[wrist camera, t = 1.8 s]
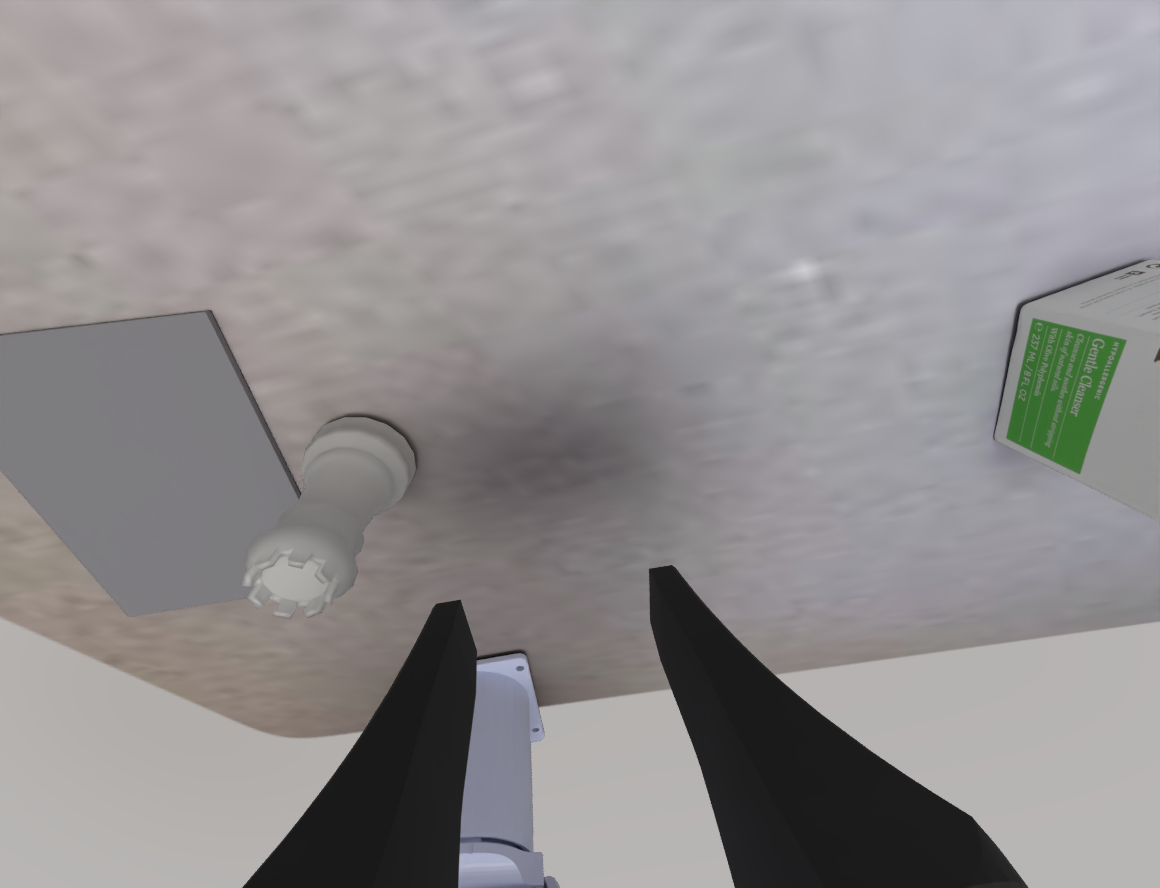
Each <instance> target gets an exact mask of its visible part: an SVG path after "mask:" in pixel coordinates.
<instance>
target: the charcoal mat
mask: <svg viewBox="0 0 1160 888" xmlns="http://www.w3.org/2000/svg"><path fill="white" fill-rule="evenodd" d="M0 470H1V472H2V473H3V474H4V475H5V476H6V477H7V478H8V480H9V481H10V482H11V483H12V484H13V485H14V486H15V488H16V489H17V490H18V491H19V492H20V493H21V494H22V496H23V497H24V498H25V499H26V500H27V501H28V503H29V504H30V505H31V506H32V507H33V508H34V509H35V511H36V512H37V513H38V514H39V515H40V516H41V517H42V519H43V520H44V521H45V522H46V523H47V524H48V525H49V527H50V528H51V529H52V530H53V531H54V532H55V534H56V535H57V536H58V537H59V538H60V539H61V540H62V542H63V543H64V544H65V545H66V546H67V547H68V548H69V550H70V551H71V552H72V553H73V554H74V555H75V556H76V558H77V559H78V560H79V561H80V562H81V563H82V565H83V566H84V567H85V568H86V569H87V570H88V571H89V573H90V574H91V575H92V576H93V577H94V578H95V579H96V581H97V582H98V583H99V584H100V585H101V586H102V587H103V589H104V590H105V591H106V592H107V593H108V594H109V596H110V597H111V598H112V599H113V600H114V601H115V602H116V604H117V605H118V606H119V607H120V608H121V609H122V610H123V612H124V613H125V614H126V615H127V616H128V617H132V616H139V615H145V614H151V613H158V612H164V611H170V610H177V609H183V608H189V607H196V606H202V605H208V604H214V603H221V602H227V601H233V600H240V599H246V597H247V596H248V594H249V593H250V592H251V590H252V589H253V587H254V585H253V587H248V586H241V585H242V580H243V575H244V573H245V572H246V570H247V567H246V564H245V562H244V560H245V555H246V550H247V546H248V545H249V544H250V543H251V542H252V541H253V540H254V539H255V538H256V537H257V536H258V535H259V534H261V533H264V532H267V531H269V530H272V529H275V528H276V526H277V521H278V518H279V517H280V516H281V515H282V514H283V513H284V512H285V511H286V510H287V509H289V508H292V507H294V506H296V505H297V503H298V501H299V499H300V497H301V494H300V492H299V490H298V488H297V486H296V484H295V482H294V479H293V477H292V475H291V473H290V471H289V469H288V467H287V465H286V463H285V461H284V459H283V457H282V455H281V453H280V451H279V449H278V447H277V445H276V443H275V441H274V439H273V437H272V435H271V433H270V431H269V429H268V427H267V425H266V422H265V420H264V418H263V416H262V414H261V412H260V410H259V408H258V406H257V404H256V402H255V400H254V398H253V396H252V394H251V392H250V390H249V388H248V386H247V384H246V382H245V380H244V378H243V376H242V374H241V372H240V370H239V368H238V365H237V363H236V361H235V359H234V357H233V355H232V353H231V351H230V349H229V347H228V345H227V343H226V341H225V339H224V337H223V335H222V333H221V331H220V329H219V327H218V325H217V323H216V321H215V319H214V317H213V315H212V313H211V311H210V310H209V311H200V312H191V313H183V314H174V315H165V316H157V317H148V318H139V319H131V320H122V321H113V322H105V323H96V324H88V325H79V326H70V327H62V328H53V329H44V330H36V331H27V332H18V333H10V334H1V335H0Z"/></svg>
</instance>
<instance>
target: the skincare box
mask: <svg viewBox="0 0 1160 888" xmlns="http://www.w3.org/2000/svg"><path fill="white" fill-rule="evenodd" d="M994 438H995V440H996V441H998V442H999V443H1001V444H1003V445H1006V446H1007V447H1009V448H1011V449H1013V450H1015V451H1018V452H1020V453H1022V454H1024V455H1026V456H1028V457H1030V458H1032V459H1034V460H1036V461H1038V462H1040V463H1042V464H1044V465H1046V466H1048V467H1050V468H1052V469H1054V470H1056V471H1058V472H1060V473H1062V474H1064V475H1066V476H1068V477H1070V478H1072V479H1074V480H1076V481H1078V482H1080V483H1082V484H1084V485H1086V486H1088V487H1090V488H1092V489H1094V490H1096V491H1098V492H1100V493H1102V494H1104V495H1106V496H1108V497H1110V498H1112V499H1114V500H1116V501H1118V502H1120V503H1122V504H1124V505H1126V506H1128V507H1130V508H1133V509H1135V510H1137V511H1139V512H1141V513H1143V514H1145V515H1147V516H1149V517H1151V518H1153V519H1155V520H1157V521H1159V522H1160V260H1156V259H1150V260H1147V261H1144V262H1141V263H1138V264H1136V265H1133V266H1130V267H1127V268H1124V269H1122V270H1119V271H1116V272H1113V273H1110V274H1107V275H1105V276H1102V277H1099V278H1096V279H1093V280H1090V281H1088V282H1085V283H1082V284H1079V285H1077V286H1074V287H1071V288H1068V289H1066V290H1063V291H1060V292H1057V293H1055V294H1052V295H1049V296H1046V297H1043V298H1041V299H1038V300H1035V301H1033V302H1030V303H1027V304H1025V305H1024V306H1023V307H1022V309H1021V312H1020V316H1019V321H1018V328H1017V334H1016V338H1015V342H1014V346H1013V350H1012V354H1011V359H1010V364H1009V370H1008V375H1007V379H1006V384H1005V389H1004V394H1003V399H1002V404H1001V408H1000V413H999V418H998V422H997V426H996V430H995V435H994Z"/></svg>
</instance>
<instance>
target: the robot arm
mask: <svg viewBox="0 0 1160 888" xmlns="http://www.w3.org/2000/svg"><path fill="white" fill-rule="evenodd" d="M649 584H650V622H651V626H652V630H653V634H654V638H655V641H656V645H657V649H658V652H659V656H660V660H661V662H662V665H663V668H664V671H665V673H666V676H667V678H668V681H669V684H670V686H671V689H672V691H673V694H674V697H675V699H676V702H677V705H678V707H679V710H680V713H681V715H682V718H683V720H684V723H685V726H686V728H687V731H688V734H689V736H690V739H691V741H692V744H693V747H694V749H695V752H696V755H697V758H698V761H699V764H700V766H701V770H702V773H703V777H704V780H705V784H706V787H707V790H708V794H709V797H710V801H711V804H712V808H713V811H714V814H715V818H716V822H717V825H718V828H719V832H720V836H721V839H722V843H723V846H724V850H725V853H726V857H727V860H728V864H729V868H730V871H731V875H732V879H733V883H734V886H735V888H1028V886H1027V885H1026V884H1025V882H1024V881H1023V880H1022V878H1021V877H1020V876H1019V874H1018V873H1017V872H1016V870H1015V869H1014V868H1013V866H1012V865H1011V864H1010V863H1009V861H1008V860H1007V858H1006V857H1005V856H1004V854H1003V853H1002V852H1001V851H1000V849H999V848H998V847H997V846H996V844H995V843H994V842H993V841H992V840H991V838H990V837H989V836H988V835H987V834H986V833H985V832H984V830H983V829H982V828H981V827H980V826H979V825H978V824H977V822H976V821H975V820H974V819H973V817H972V816H970V815H968V814H967V813H965V812H963V811H962V810H960V809H959V808H957V807H955V806H954V805H952V804H950V803H949V802H947V801H946V800H944V799H942V798H941V797H939V796H938V795H936V794H934V793H933V792H931V791H930V790H928V789H927V788H925V787H924V786H922V785H921V784H919V783H917V782H916V781H914V780H913V779H911V778H910V777H908V776H907V775H905V774H904V773H902V772H901V771H899V770H898V769H896V768H895V767H893V766H892V765H891V764H889V763H888V762H886V761H885V760H883V759H882V758H880V757H879V756H877V755H876V754H874V753H873V752H871V751H870V750H869V749H867V748H866V747H865V746H863V745H862V744H861V743H859V742H858V741H857V740H855V739H854V738H853V737H851V736H850V735H849V734H847V733H846V732H845V731H843V730H842V729H840V728H839V727H838V726H836V725H835V724H834V723H832V722H831V721H830V720H828V719H827V718H825V717H824V716H823V715H822V714H820V713H819V712H818V711H817V710H816V709H814V708H813V707H812V706H811V705H809V704H808V703H807V702H806V701H804V700H803V699H802V698H801V697H800V696H798V695H797V694H796V693H795V692H794V691H792V690H791V689H790V688H789V687H788V686H786V685H785V684H784V683H783V682H782V681H781V680H780V679H779V678H777V677H776V676H775V675H774V674H773V673H772V672H771V671H770V670H769V669H768V668H766V667H765V666H764V665H763V664H762V663H761V662H760V661H759V660H758V659H757V658H756V657H755V656H754V655H753V654H752V653H751V652H750V651H749V650H748V649H747V648H746V647H745V646H743V645H742V643H741V642H740V641H739V640H738V639H737V638H736V637H735V636H734V635H733V634H732V633H731V632H730V631H729V630H728V629H727V628H726V627H725V626H724V625H723V624H722V623H721V621H720V620H719V619H718V618H717V617H716V616H715V615H714V614H713V613H712V612H711V611H710V609H709V608H708V607H707V606H706V605H705V604H704V603H703V601H702V600H701V599H700V598H699V597H698V595H697V594H696V593H695V592H694V591H693V589H692V588H691V587H690V586H689V585H688V583H687V582H686V581H685V579H684V578H683V577H682V576H681V574H680V573H679V572H678V570H677V569H676V568H675V567H674V566H672V565H670V566H664V567H658V568H652V569H649ZM543 738H544V728H543V724H542V720H541V716H540V712H539V707H538V703H537V699H536V695H535V690H534V686H533V682H532V678H531V673H530V669H529V665H528V661H527V657H526V655H524V654H522V653H517V654H511V655H505V656H500V657H494V658H488V659H482V660H477V650H476V647H475V644H474V641H473V637H472V634H471V631H470V628H469V625H468V622H467V619H466V616H465V612H464V609H463V606H462V603H461V600H456V601H450V602H444V603H438V604H436V605H435V606H434V607H433V609H432V611H431V613H430V615H429V617H428V619H427V621H426V623H425V625H424V627H423V629H422V631H421V633H420V635H419V637H418V639H417V641H416V643H415V645H414V647H413V649H412V650H411V652H410V654H409V656H408V658H407V660H406V661H405V663H404V665H403V667H402V669H401V670H400V672H399V674H398V676H397V677H396V679H395V681H394V683H393V684H392V686H391V688H390V690H389V691H388V693H387V695H386V696H385V698H384V699H383V701H382V703H381V704H380V706H379V707H378V709H377V711H376V712H375V714H374V715H373V717H372V719H371V720H370V722H369V723H368V725H367V727H366V728H365V730H364V731H363V733H362V734H361V736H360V737H359V739H358V740H357V742H356V743H355V745H354V746H353V748H352V749H351V751H350V752H349V754H348V755H347V756H346V758H345V759H344V761H343V762H342V763H341V765H340V766H339V768H338V769H337V770H336V772H335V773H334V775H333V776H332V778H331V779H330V780H329V782H328V783H327V784H326V786H325V787H324V788H323V789H322V791H321V792H320V793H319V795H318V796H317V797H316V799H315V800H314V801H313V802H312V804H311V805H310V806H309V808H308V809H307V810H306V812H305V813H304V814H303V816H302V817H301V818H300V819H299V821H298V822H297V823H296V824H295V826H294V827H293V828H292V830H291V831H290V832H289V833H288V835H287V836H286V837H285V838H284V839H283V841H282V842H281V843H280V844H279V845H278V846H277V848H276V849H275V850H274V851H273V852H272V853H271V855H270V856H269V857H268V858H267V859H266V860H265V862H264V863H263V864H262V865H261V866H260V868H259V869H258V870H257V871H256V872H255V873H254V875H253V876H252V877H251V878H250V879H249V880H248V882H247V883H246V884H245V885H244V886H243V888H560V887H559V884H558V882H557V881H556V880H555V878H554V877H551V876H547V877H544V876H543V875H544V873H543V854H542V853H541V852H533V804H532V769H531V742H537V741H541V740H542V739H543Z"/></svg>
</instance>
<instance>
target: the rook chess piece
mask: <svg viewBox="0 0 1160 888" xmlns="http://www.w3.org/2000/svg"><path fill="white" fill-rule="evenodd" d="M301 471H302V474H303V483H304V487H305V488H304V490H303V492H302V494H301V497H300V499H299V501H298V503H297V505H296V506H294V507H292V508H289V509H287V510H286V511H285V512H284V513H283V514H282V515H281V516H280V517H279V518H278V521H277V526H276V528H275V529H272V530H269V531H267V532H264V533H261V534H259V535H258V536H257V537H256V538H255V539H254V540H253V541H252V542H251V543H250V544H249V545H248V546H247V550H246V555H245V560H244V562H245V564H246V567H247V570H246V572H245V573H244V575H243V580H242V585H241V586H248V587H253V585H254V587H253V589H252V590H251V592H250V593H249V594H248V596H247V597H246V598H247V599H248V600H249V601H250V602H251V603H252V604H253V605H254V606H255V607H256V608H259V607H260V606H262V605H264V604H265V603H266V601H267V599H268V598H269V599H271V600H273V601H275V602H277V603H279V606H278V608H277V609H276V611H275V613H274V614H273V616H277V617H283V618H288V619H291V617H292V615H293V613H294V611H295V609H296V607H305V609H304V611H303V612H304V614H305V615H306V617H307V618H309V617H312V616H314V615H317V614H320V613H322V611H323V609H324V607H325V605H326V603H328V604H332V602H333V600H334V599H335V598H337V597H340V596H342V595H343V594H344V593H345V592H346V591H347V590H349V589H350V588H351V587H352V586H353V585H354V582H355V579H356V576H357V573H358V570H357V565H356V561H355V556H356V555H357V554H358V553H359V552H360V551H361V548H362V546H363V543H364V537H363V531H364V529H365V528H366V527H367V525H368V524H369V522H370V521H371V520H372V518H373V517H374V516H376V515H379V514H380V513H381V512H383V511H385V510H388V509H390V508H391V507H392V506H393V505H394V504H395V503H396V502H397V501H398V500H400V499H401V498H402V497H403V496H404V495H405V493H406V490H407V488H408V486H409V485H410V484H411V481H412V479H413V476H414V473H415V471H416V466H415V458H414V453H413V451H412V449H411V448H410V446H409V445H408V443H407V441H406V440H405V438H404V437H403V436H402V435H400V434H399V433H398V432H396V431H395V430H394V429H392V428H391V427H390V426H388V425H387V424H384V423H381V422H378V421H375V420H372V419H369V418H366V417H344V418H341V419H339V420H336V421H333V422H331V423H328V424H325V426H324V427H323V428H322V429H321V430H320V431H319V432H318V433H317V434H316V435H315V436H314V437H313V440H312V443H311V444H310V445H309V446H308V447H307V448H306V452H305V456H304V460H303V464H302V468H301Z"/></svg>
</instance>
